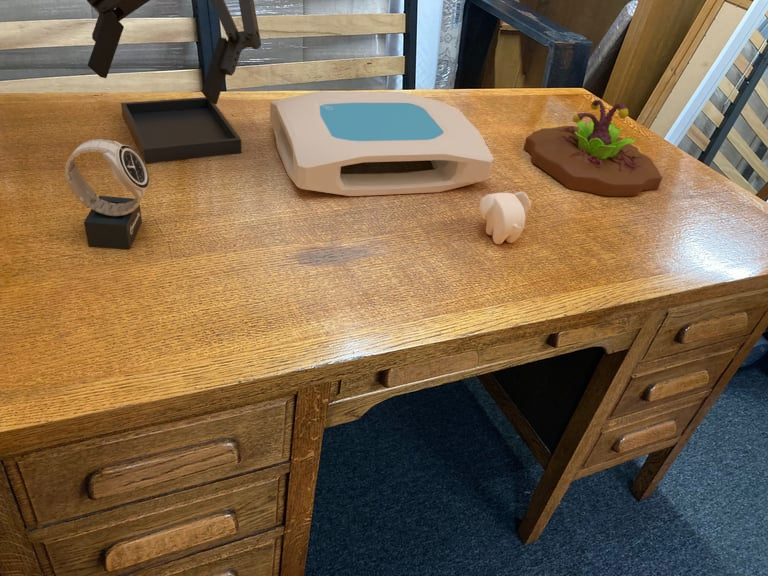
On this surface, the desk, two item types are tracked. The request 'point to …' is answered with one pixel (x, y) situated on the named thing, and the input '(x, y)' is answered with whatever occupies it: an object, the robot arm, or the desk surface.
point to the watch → (111, 214)
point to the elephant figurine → (505, 215)
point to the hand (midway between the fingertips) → (152, 85)
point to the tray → (179, 129)
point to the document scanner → (376, 142)
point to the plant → (593, 156)
